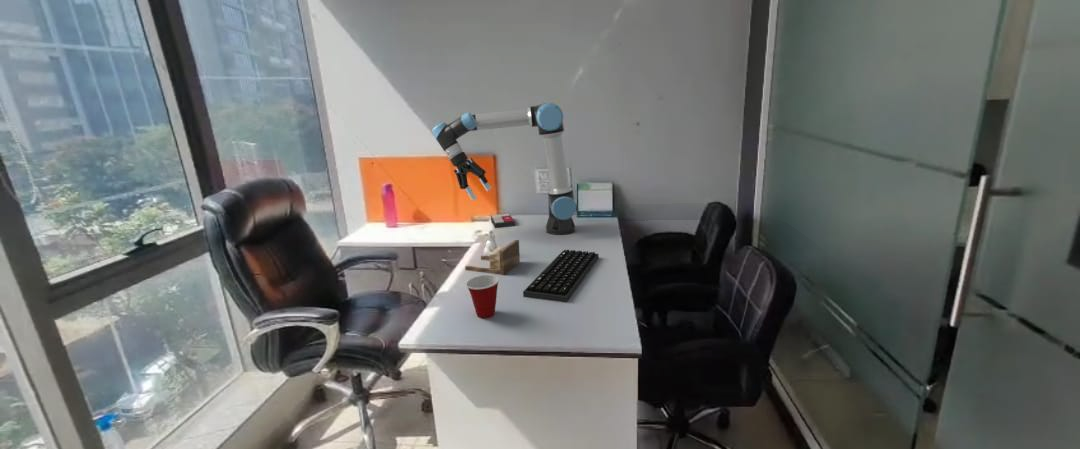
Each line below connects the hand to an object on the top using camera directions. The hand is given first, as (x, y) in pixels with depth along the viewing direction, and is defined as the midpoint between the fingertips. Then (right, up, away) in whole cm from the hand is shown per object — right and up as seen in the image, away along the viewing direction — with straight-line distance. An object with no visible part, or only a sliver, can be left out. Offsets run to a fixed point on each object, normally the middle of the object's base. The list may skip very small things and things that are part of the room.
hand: (481, 194), depth 211 cm
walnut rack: (+7, -31, -21) cm, 38 cm away
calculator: (+6, -14, +43) cm, 46 cm away
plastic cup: (+9, -43, -63) cm, 77 cm away
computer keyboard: (+37, -35, -34) cm, 60 cm away
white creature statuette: (+6, -28, -9) cm, 30 cm away
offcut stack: (+11, -32, -23) cm, 41 cm away
